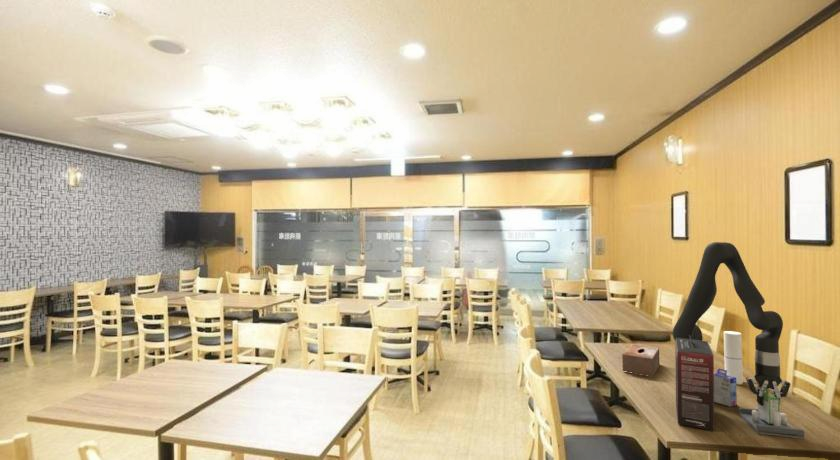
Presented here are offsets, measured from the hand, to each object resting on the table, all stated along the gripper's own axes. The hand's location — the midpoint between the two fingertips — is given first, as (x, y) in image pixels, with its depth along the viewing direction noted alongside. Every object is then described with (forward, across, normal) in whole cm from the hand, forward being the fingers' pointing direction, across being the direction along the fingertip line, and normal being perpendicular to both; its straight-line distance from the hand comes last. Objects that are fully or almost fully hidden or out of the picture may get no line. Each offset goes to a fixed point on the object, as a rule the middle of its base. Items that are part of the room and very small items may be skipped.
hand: (768, 405), depth 159 cm
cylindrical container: (+8, +6, +52) cm, 53 cm away
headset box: (+8, -25, +1) cm, 26 cm away
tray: (+8, 0, 0) cm, 8 cm away
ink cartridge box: (+8, -9, +21) cm, 24 cm away
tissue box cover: (+9, -34, +63) cm, 72 cm away
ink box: (+6, 0, 0) cm, 6 cm away
